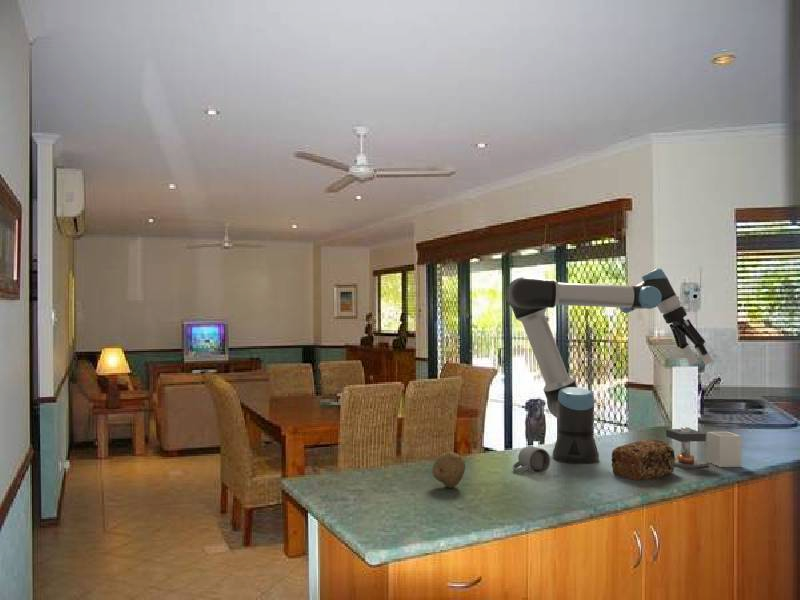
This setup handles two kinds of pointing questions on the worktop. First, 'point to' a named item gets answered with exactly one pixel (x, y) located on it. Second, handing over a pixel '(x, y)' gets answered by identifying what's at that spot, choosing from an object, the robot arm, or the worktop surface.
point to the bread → (643, 460)
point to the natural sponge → (449, 469)
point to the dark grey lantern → (687, 455)
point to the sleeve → (724, 449)
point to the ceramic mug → (532, 460)
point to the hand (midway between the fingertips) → (701, 363)
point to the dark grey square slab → (685, 435)
